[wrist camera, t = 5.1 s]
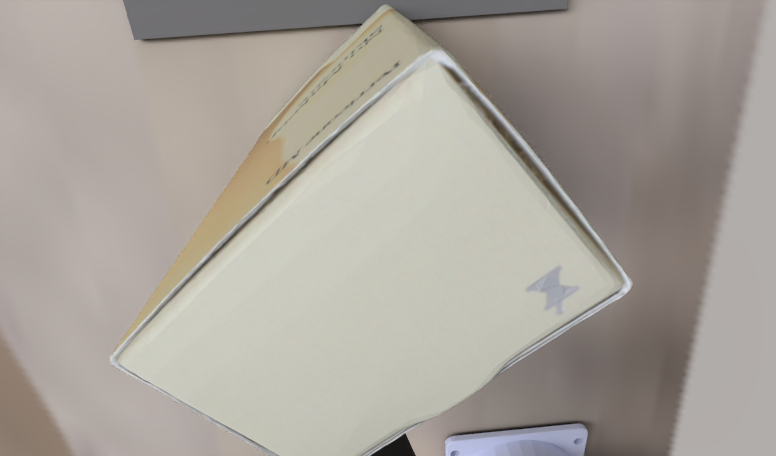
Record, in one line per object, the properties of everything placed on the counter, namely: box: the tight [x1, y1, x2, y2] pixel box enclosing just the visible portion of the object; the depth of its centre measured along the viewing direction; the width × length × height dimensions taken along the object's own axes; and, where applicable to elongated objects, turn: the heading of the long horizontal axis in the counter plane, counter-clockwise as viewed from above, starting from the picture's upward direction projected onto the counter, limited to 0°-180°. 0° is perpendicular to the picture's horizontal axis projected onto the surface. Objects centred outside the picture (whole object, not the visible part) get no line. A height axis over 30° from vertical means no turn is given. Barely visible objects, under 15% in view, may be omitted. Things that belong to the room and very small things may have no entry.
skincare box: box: [110, 4, 633, 456], centre depth 11 cm, size 6×4×12 cm
